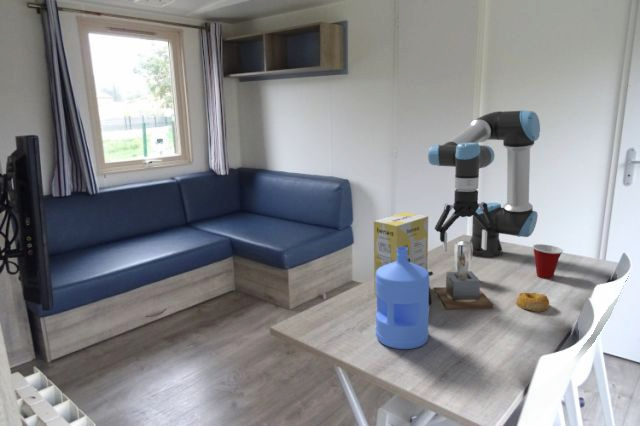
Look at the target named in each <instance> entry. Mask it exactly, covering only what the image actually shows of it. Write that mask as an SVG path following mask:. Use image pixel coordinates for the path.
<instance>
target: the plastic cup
mask: <svg viewBox="0 0 640 426" xmlns="http://www.w3.org/2000/svg"><path fill="white" fill-rule="evenodd" d="M532 249H533V253H534V263H535V264H534V265H535V269H536V270H535V272H536V276H537V278H539V279H540V278H541V279H545V280H546V279H547V280H548V279H552V278H554V275H555V272H556V269H557V266H558V262H559V259H560V257H561V255H562V254H563V252H564V249H562V248H560V247H557V246H554V245H550V244H543V243H540V244H538V243H536V244H533V245H532Z"/></svg>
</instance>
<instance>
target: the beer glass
mask: <svg viewBox="0 0 640 426" xmlns="http://www.w3.org/2000/svg"><path fill="white" fill-rule="evenodd" d="M472 244H473V243H472V242H470V240H469V241H468V240H457V241H455V242H454V249H453V258H454V259H453V260H454V265H455V272H467V271H470V270H471V265H472V262H473V256H474V255H473V245H472Z"/></svg>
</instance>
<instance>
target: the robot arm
mask: <svg viewBox="0 0 640 426" xmlns="http://www.w3.org/2000/svg"><path fill="white" fill-rule="evenodd" d="M540 124H541V122H540V118H539V116H538V114H537V112H535V111H532V110H523V109H522V110H508V111H506V110H505V111H501V110H499V111H492V112H489V113H487V114H484V115H482V116H479V117H477V118H476V119H474V120H473V121H472V122H470V123H469V125H468V127H467V128H465V129H464V130H463V131H461V132H460V133H458V134H456V135H455V136H454V137H453V138H451V139H450V140H448V141H446V142H445V143H444V144H441V145H440V144H436V145H435V144H434V145H432V146H430V147H429V150H428V153H427V159H428V163H429V164H430V165H432V166H438V167H451V168H452V167H455V174H454V188H455V190H454V197H453V198H454V202H453V204H449V203H445V204H444V209H443V211H442V213H441V215H440V217H439V219H438V221H437V223H436V224H435V226H434V230H435V231H436V232H439V240H440V242H441V243H442V250H443V252H445V253H446V252H447V251H448V233H447V231H448V230H449V229H450V227H451V226H452V225H453V224H454V223H455V222H456V220H457V219H459V218H460V217H461V218H466V217H468V218H469V217H470V218H471V217H472V228H471V232H472V233H471V238H470V240H469V242H472V243H473V244H472V245H473V256H474V257H477V258H478V257H479V258H491V259H492V258H499V257H501V256H502V255H503V247H502V243H501V241H500V240H501V239H500V234H501V235H502V234H503V235H508V236H514V237H515V236H516V237H523V238H529V237H531V236H532V235H533V232H534V230H535V228H536V226H537V222H538V215H539V214H538V212H537V211H535V210H533V205H532V203H530V171H531V170H530V167H531V165H530V164H531V162H530V160H531V159H530V158H531V148H532V147H533V146H534V145H535V141H538V140H539V138H540V132H541V125H540ZM489 140H492V141H493V140H494V141H503V144H502V145H503V147H504V148H506V151H507V155H506V156H507V157H506V159H507V160H506V163H507V165H506V169H507V170H506V174H507V175H506V177H507V178H506V182H507V183H506V185H507V186H506V196H507V197H506V203H504V204H503V207H502V205H501V203H498V202H485V201H482V202H480V203H479V202H478V201H479V191H478V189H479V179H480V176H479V175H480V169H482V168H487V167H488V166H489V165H491V164H492V163H493V162H494V160H495V152H494V150H493V148H492V147H490V146H489V145H486V144H485V145H484V144H483V145H480V144H479V143H484V142H487V141H489ZM452 209H453V210H454V211H453V213H452V214H451V216H450V217H449V218H448V216H449V214H450V212H451V211H452ZM446 219H447V220H446Z"/></svg>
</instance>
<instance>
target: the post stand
mask: <svg viewBox="0 0 640 426" xmlns="http://www.w3.org/2000/svg"><path fill="white" fill-rule="evenodd" d="M458 279H468V275H467V274H466V273H465V272H461V273H459V275H458ZM433 292H434V293H435V295H436V296H437V299H438V301H439V302H440V304H441V305H442V306H443V308H444V310H445V311H458V310H459V311H460V310H489V309H494V303H493V302H492V301H491V300H490V299H489V298H488V297H487V296H486V295H485V293H484V292H483V291H482V290H481V289H480V292H479V300H455V301H453V300H452V298H451V297H450V295H449V294H448V292H447V291H446V286H439V287H433Z"/></svg>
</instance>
